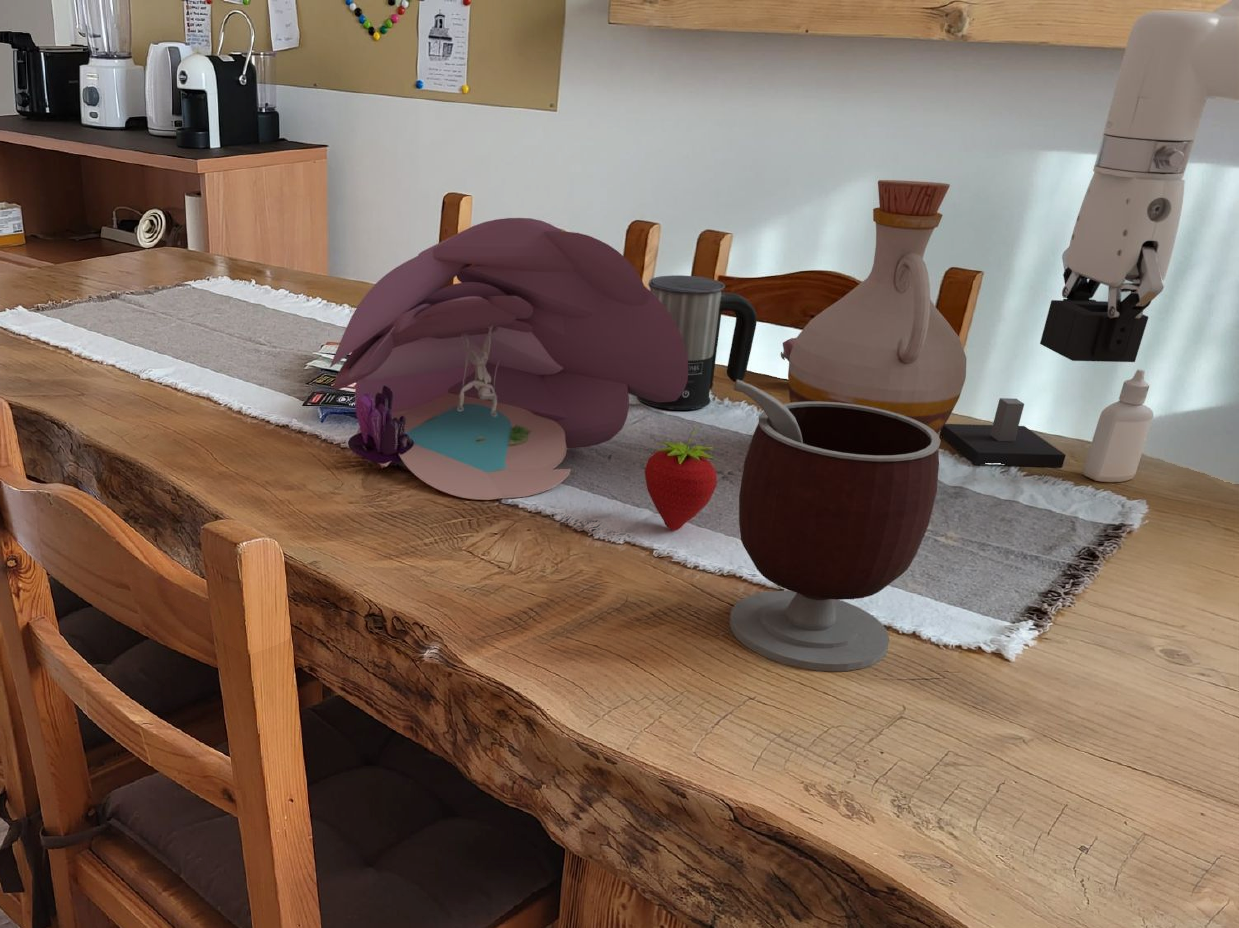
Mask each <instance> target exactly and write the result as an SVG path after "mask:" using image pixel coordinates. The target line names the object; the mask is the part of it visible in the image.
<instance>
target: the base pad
mask: <svg viewBox="0 0 1239 928" xmlns="http://www.w3.org/2000/svg"><path fill="white" fill-rule="evenodd" d="M997 403H998V404H997V406H996V411H995V415H994V419H993V422H992V424H969V423H967V424H965V423H964V424H963V423H945V424H944V426H943V427H942V429H941V430H940V431H939V437H940V438H942V439H943V440H944V441H945V442H947V443H948V444H949V445H950V446H951V447H953V448H954V449H955V450H957V452H959V453H960V454H961V455H962V456H964V458H966V459H967V460H968V461H970V462H971V463H972V464H974V465H975V464H976V465H975V466H980V465H979V464H985V463H1001V464H1005V465H1015V466H1014V467H1040V468H1041V467H1042V468H1043V467H1044V468H1046V467H1047V468H1063V466H1064V463H1065V459H1066V456H1067V454H1066V453H1064V452H1062V451H1061V450H1060V449H1058V448H1057V447H1055V446H1054V445H1052V444H1051V443H1049V442H1048V441H1047V440H1045V439H1044V438H1042V437H1041V436H1040V435H1038V434H1037V433H1035V432H1034V431H1032V430H1031V429H1029V428H1028V427H1026V426H1025V425H1020V422H1021V418H1022V415H1023V411H1024V407H1025V403H1024V402H1022V401H1020V400H1019V399H1017V398H1011V397H1009V398H1008V397H1007V398H1006V397H1000V398H999V400H998V402H997Z"/></svg>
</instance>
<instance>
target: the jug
mask: <svg viewBox="0 0 1239 928" xmlns="http://www.w3.org/2000/svg"><path fill="white" fill-rule="evenodd" d="M950 187H951V184H950V183H944V182H933V181H919V180H898V179H897V180H896V179H895V180H894V179H879V180H877V190H878V191H877V192H878V205H879V206H878V207H874V208H873V209H872V215H873V216H872V220H873V222H874V223H875V249H874V256H873V263H872V268H871V271H870V273H868V274H869V275H868V276H867V277H866V278H865V279H864V280H863V281H861V282H860V283H859V284H858V285H857V286H855V287H854V288H852V289H851V290H850V291H849V292H848V293H846V294H845V295H844V296H843V297H841V298H840V299H838V300H837V301H836V302H834V303H832V304H831V305H830V306H828V307H827V308H825V309H824V310H823V311H821V312H820V313H818V314H817V315H815V316H814V317H813V318H811V319H810V320H809V322H808V323H807V324H806V325H805V326H804V328H803V329H802V330H801V331H800V332H799V334H798V335H797V336H796V337H795V338H796V340H795V343H794V345H793V348H792V351H791V353H790V359H789V361H788V372H787V380H788V395H789V401H790V402H789V403H793V402H820V401H821V402H838V403H847V404H855V405H861V406H868V407H873V408H877V409H882V410H886V411H890V412H893V413H897V414H900V415H903V416H906V417H909V418H912V419H914V420H916V421H919V422H921V423H923V424H925V425H926V426H928V427H929V428H931V429H932V430H934V431H935V432H936V433H937V434H938V435H939V434H940V431H941V429H942V427H943V426H944V424H947V422H948V420H949V418H950V417H951V414H953V411H954V409H955V407H956V406H957V403H958V401H959V400H960V397H961V394H962V391H963V388H964V385H965V382H966V379H967V356H966V352H965V350H964V347H963V343H962V341H961V339H960V337H959V335H958V333H956V331H955V330H954V328H953V327H952V326H951V324H950V323H949V322H948V321H947V319H946V318H945V317H944V315H943V314H942V313H941V312H940V311H939V309H938V308H937V307H936V305H935V304H934V303H933V301H932V300H931V284H930V278H929V277H930V275H929V271H928V268H927V264H926V262H925V261H924V259H923V258H924V255H925V252H926V249H927V247H928V244H929V241H930V239H931V237H932V234H933V232H934V230H935V228H938V227H939V225H940V223H941V220H942V218H943V216H944V215H943V214H942V213H940V212H938V211H939V209H940V207H941V205H942V203H943V201H944V199H945V197H946V195H947V193H948V191H949V189H950Z"/></svg>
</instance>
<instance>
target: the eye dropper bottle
mask: <svg viewBox="0 0 1239 928" xmlns="http://www.w3.org/2000/svg"><path fill="white" fill-rule="evenodd" d="M1149 390H1150V384H1149V383H1148V382H1146V381H1145V370H1144V369H1136V371H1135V373H1134V375H1133V377H1132V378H1131V379H1126V380H1124V381H1123V384H1122V387H1121V391H1120V393H1119V397H1118V401H1116V402H1113V403H1111V404H1109V405H1108V406H1106V407H1105V408H1103V409H1102V411H1101V412H1100V415H1099V418H1098V421H1097V424H1096V427H1095V430H1094V433H1093V436H1092V441H1091V442H1090V446H1089V449H1088V453H1087V456H1086V459H1085V463H1084V467H1083V470H1082V474H1083V476H1085V477H1086V478H1089V479H1091V480H1093V481H1095V482H1099V483H1121V482H1128V481H1130V480H1132V479H1133V478H1135V476H1136V473H1137V470H1138V468H1139V464H1140V461H1141V458H1142V455H1143V451H1144V449H1145V446H1146V442H1147V440H1148V437H1149V432H1150V429H1151V426H1152V424H1153V423H1152V422H1153V420H1154V412H1153V410H1152V409H1151V408H1150V407H1149V406H1147V405H1144V404H1145V401H1146V400H1147V399H1146V398H1147V395H1148V392H1149Z"/></svg>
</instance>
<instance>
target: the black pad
mask: <svg viewBox="0 0 1239 928" xmlns="http://www.w3.org/2000/svg"><path fill="white" fill-rule="evenodd" d="M1102 316H1108V300H1107V301H1103V300H1102V301H1101V300H1100V301H1099V300H1096V301H1067V300H1063V299H1058V300H1057V299H1051V300H1050V304H1049V307H1048V312H1047V316H1046V319H1045V324H1044V327H1043V331H1042V334H1041V338H1040V342H1039V344H1040V345H1041V346H1043V347H1044V348H1047V349H1049V350H1051V351H1053V352H1055V353H1056V354H1058V355H1060V356H1062V357H1064V358H1066V359H1068V360H1070V361H1071V362H1108V363H1109V362H1110V363H1112V362H1113V363H1115V362H1116V363H1135V362H1136V359H1137V356H1138V353H1139V349H1140V347H1141V344H1142V341H1143V337H1144V333H1145V330H1146V327H1147V324H1148V322H1149V316H1148V315H1146V314H1144V313H1143V314H1142V316H1141V318H1139V319H1137V320H1136V324H1135V327H1134V330H1133V334H1132V337H1131V340H1130V344H1129V347H1128V350H1127V354H1126V356H1125V357H1124V358H1123V359H1109V358H1095V357H1093V356H1092V354H1091V353H1092V349H1093V346H1094V342H1095V339H1096V335H1097V332H1098V328H1099V325H1100V321H1101V318H1102Z"/></svg>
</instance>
